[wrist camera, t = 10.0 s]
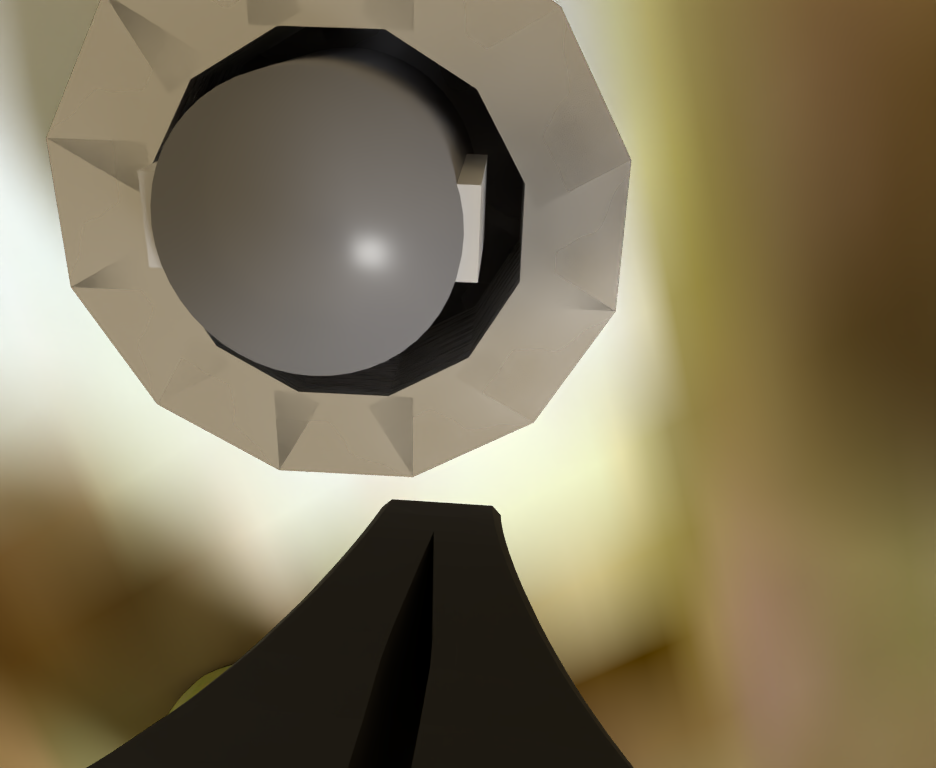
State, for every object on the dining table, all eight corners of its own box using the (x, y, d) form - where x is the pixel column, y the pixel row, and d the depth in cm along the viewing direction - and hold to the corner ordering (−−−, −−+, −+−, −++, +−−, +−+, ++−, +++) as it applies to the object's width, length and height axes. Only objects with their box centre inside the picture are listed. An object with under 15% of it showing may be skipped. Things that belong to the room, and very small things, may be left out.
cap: (493, 52, 17) (485, 72, 13) (484, 299, 19) (473, 384, 15) (212, 42, 17) (115, 58, 13) (232, 287, 19) (154, 367, 15)
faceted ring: (629, -73, 16) (656, -88, 13) (585, 409, 20) (597, 486, 17) (103, -88, 17) (6, -106, 14) (163, 389, 21) (99, 460, 18)
